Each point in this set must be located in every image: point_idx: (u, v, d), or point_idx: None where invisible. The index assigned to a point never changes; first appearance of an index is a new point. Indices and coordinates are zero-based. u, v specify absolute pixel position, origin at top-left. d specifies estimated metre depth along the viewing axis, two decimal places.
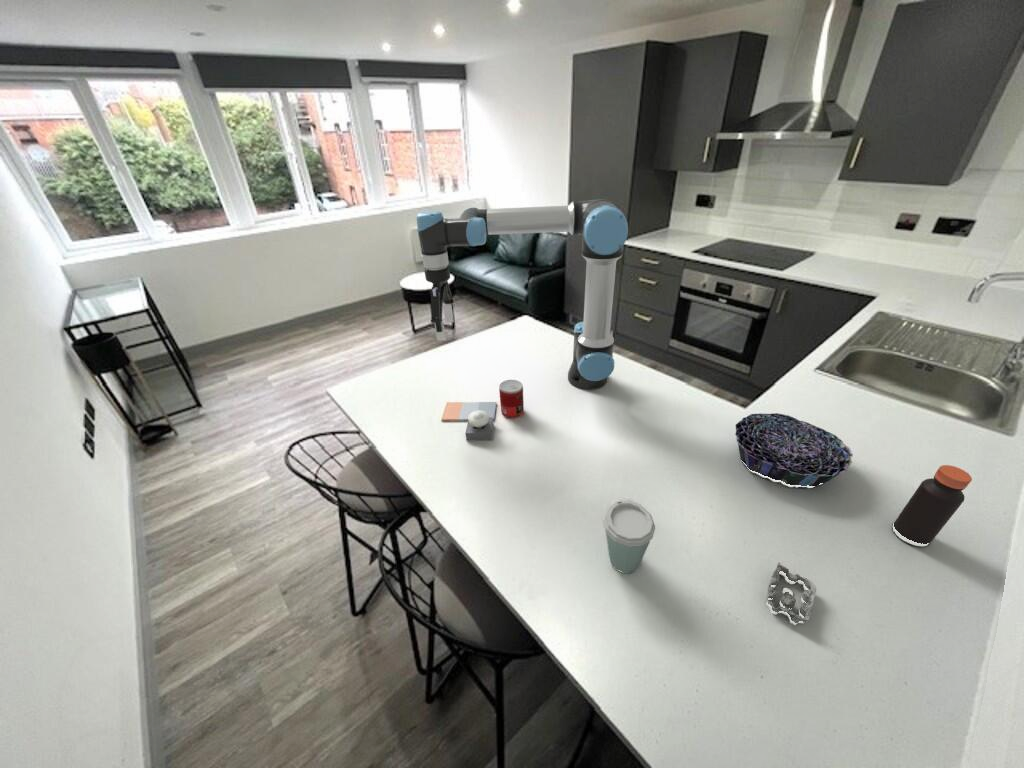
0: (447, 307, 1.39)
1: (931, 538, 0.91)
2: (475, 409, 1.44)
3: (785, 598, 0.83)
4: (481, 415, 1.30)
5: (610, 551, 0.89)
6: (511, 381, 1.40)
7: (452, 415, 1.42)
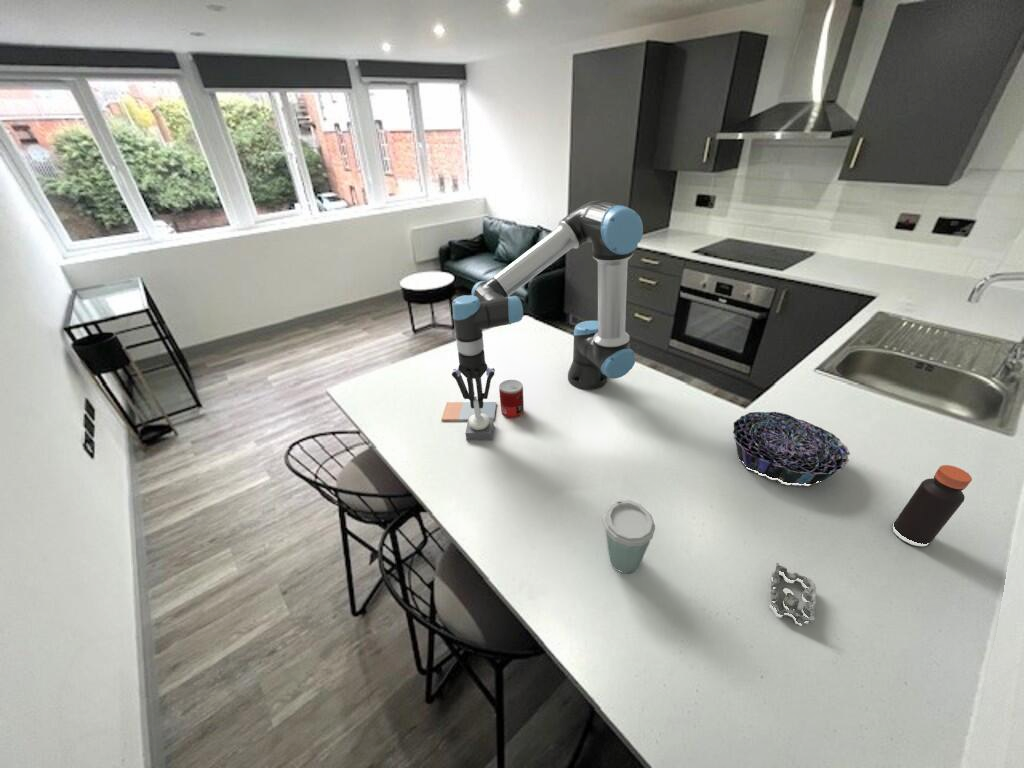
0: None
1: (931, 538, 0.91)
2: None
3: (788, 600, 0.82)
4: (481, 418, 1.31)
5: (610, 551, 0.89)
6: (511, 381, 1.40)
7: (452, 415, 1.42)
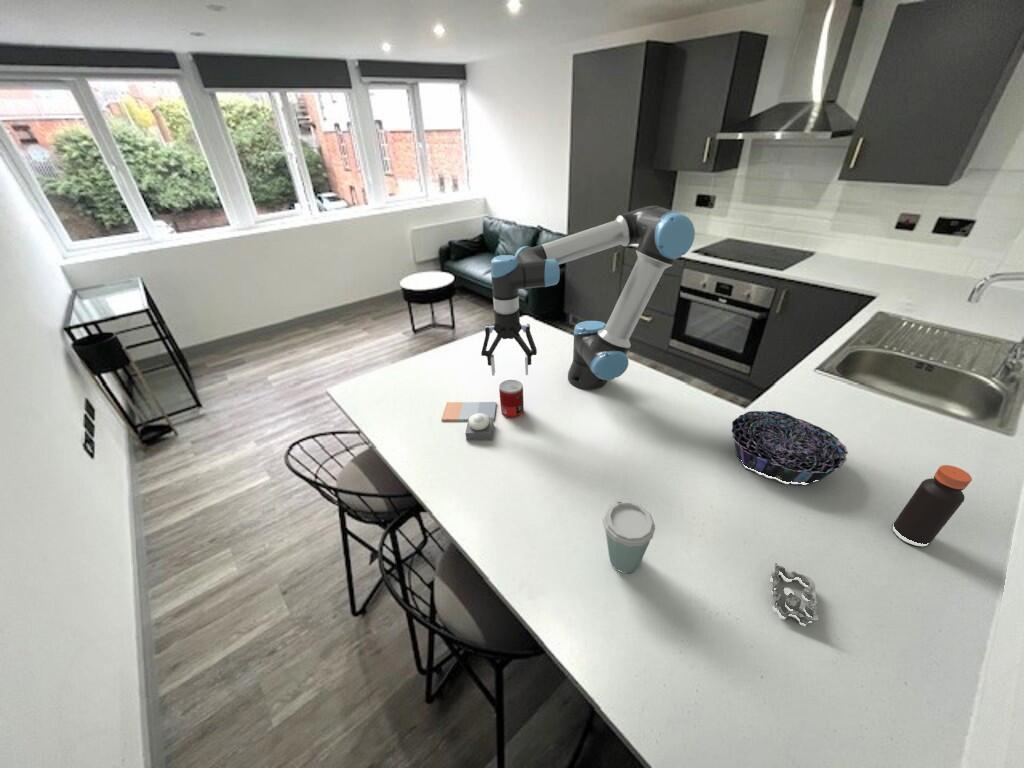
0: None
1: (931, 538, 0.91)
2: (475, 409, 1.44)
3: (790, 601, 0.82)
4: (481, 418, 1.31)
5: (610, 551, 0.89)
6: (511, 381, 1.40)
7: (452, 415, 1.42)
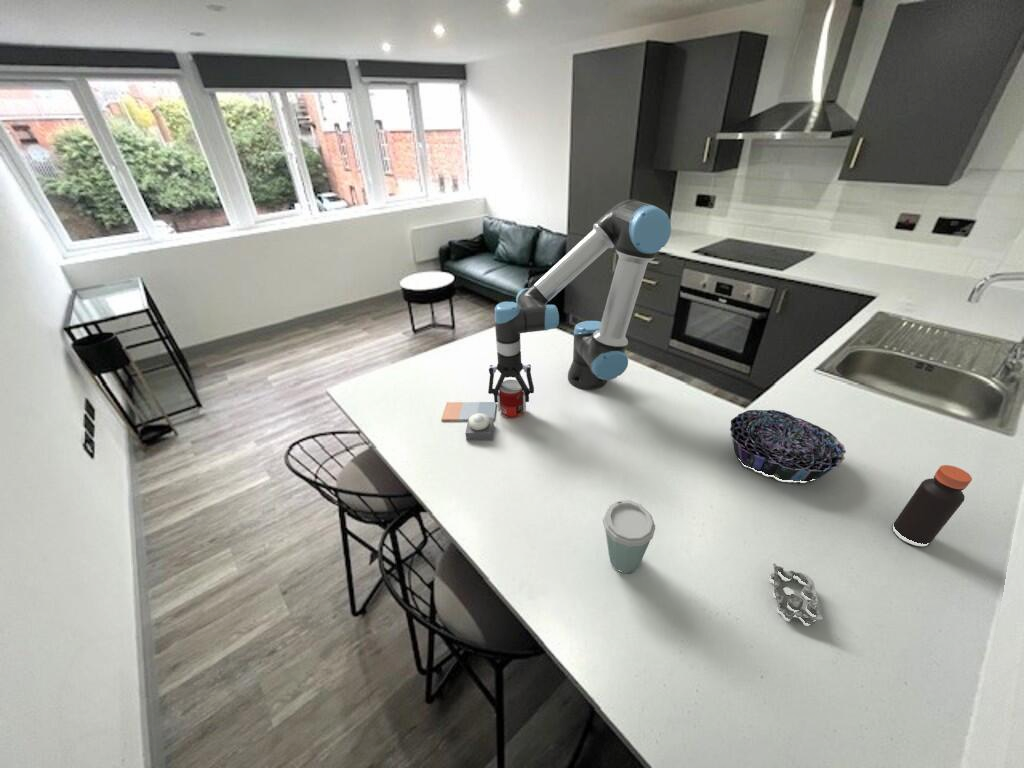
0: None
1: (931, 538, 0.91)
2: (475, 409, 1.44)
3: (793, 601, 0.82)
4: (481, 418, 1.31)
5: (610, 551, 0.89)
6: (511, 381, 1.40)
7: (452, 415, 1.42)
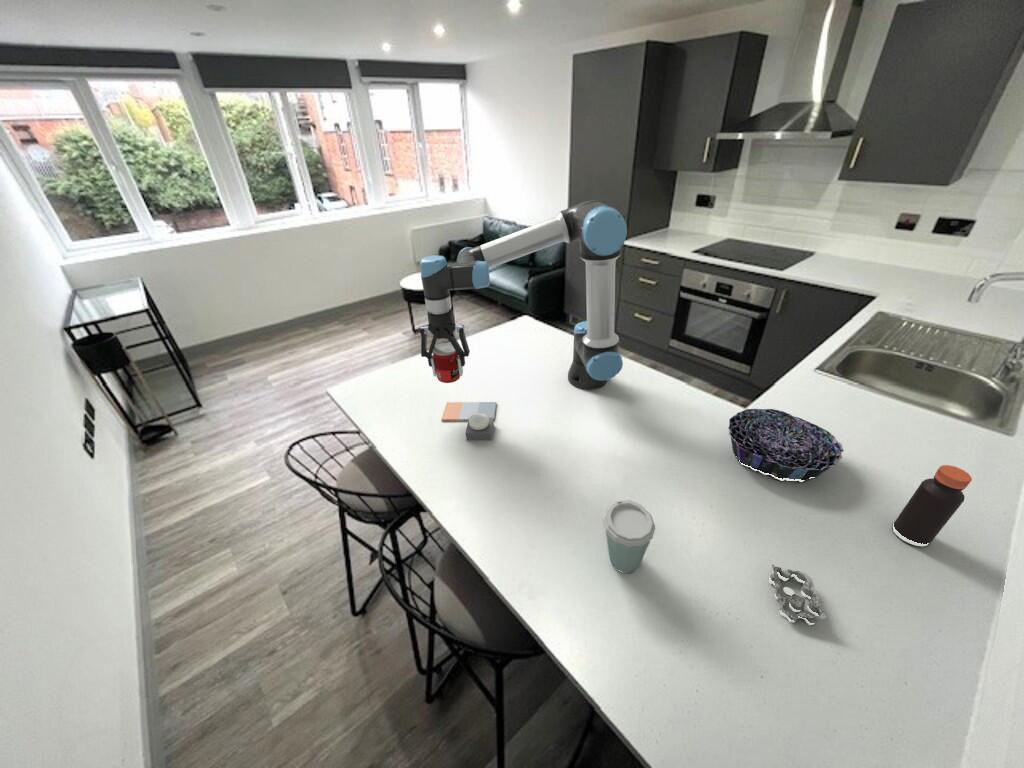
0: None
1: (931, 538, 0.91)
2: (475, 409, 1.44)
3: (795, 602, 0.82)
4: (481, 418, 1.31)
5: (610, 551, 0.89)
6: (446, 344, 1.33)
7: (452, 415, 1.42)
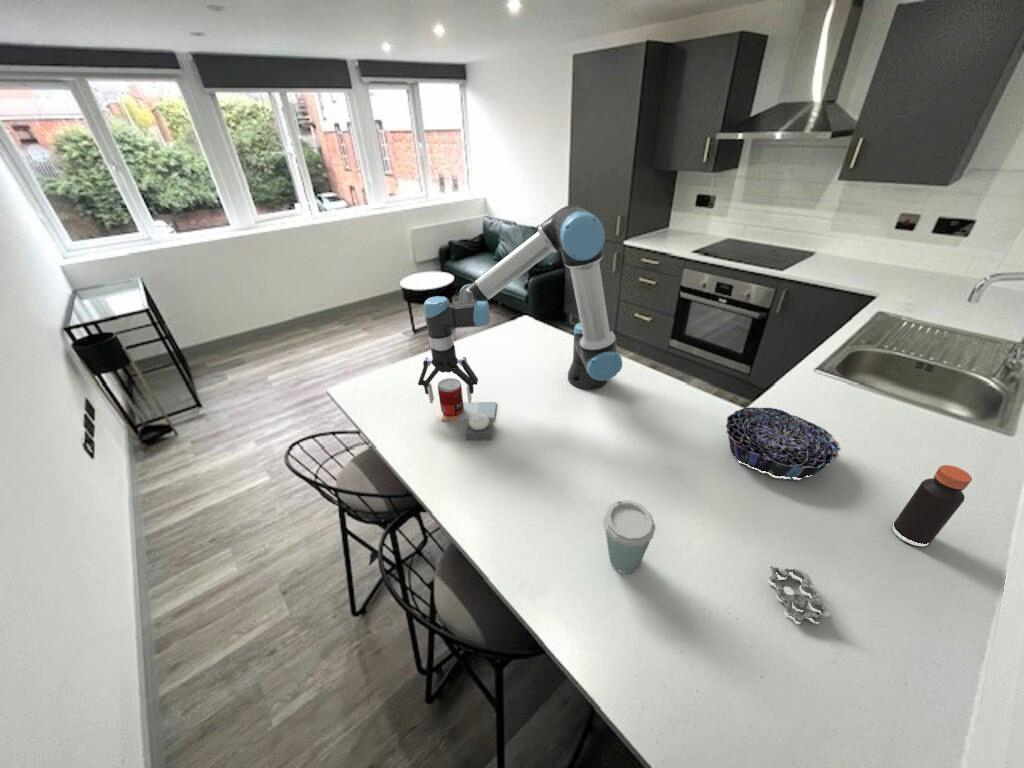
0: None
1: (931, 538, 0.91)
2: (475, 409, 1.44)
3: (799, 602, 0.82)
4: (481, 418, 1.31)
5: (610, 551, 0.89)
6: (450, 379, 1.41)
7: None
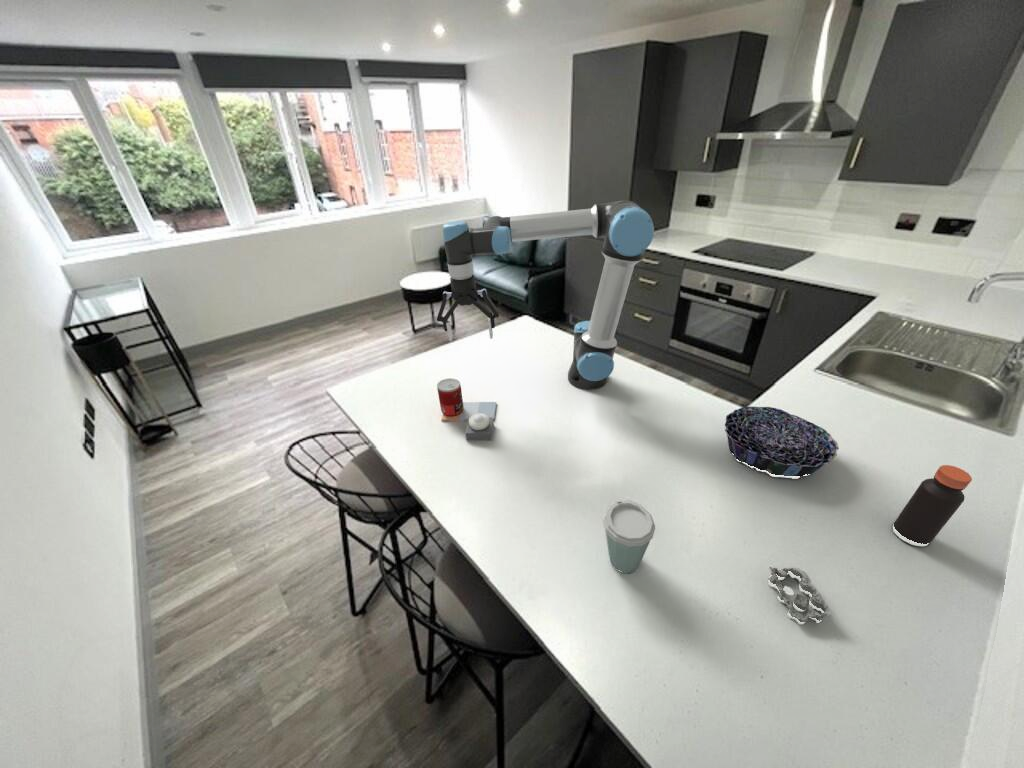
0: None
1: (931, 538, 0.91)
2: (475, 409, 1.44)
3: (801, 602, 0.82)
4: (481, 418, 1.31)
5: (610, 551, 0.89)
6: (450, 380, 1.41)
7: None
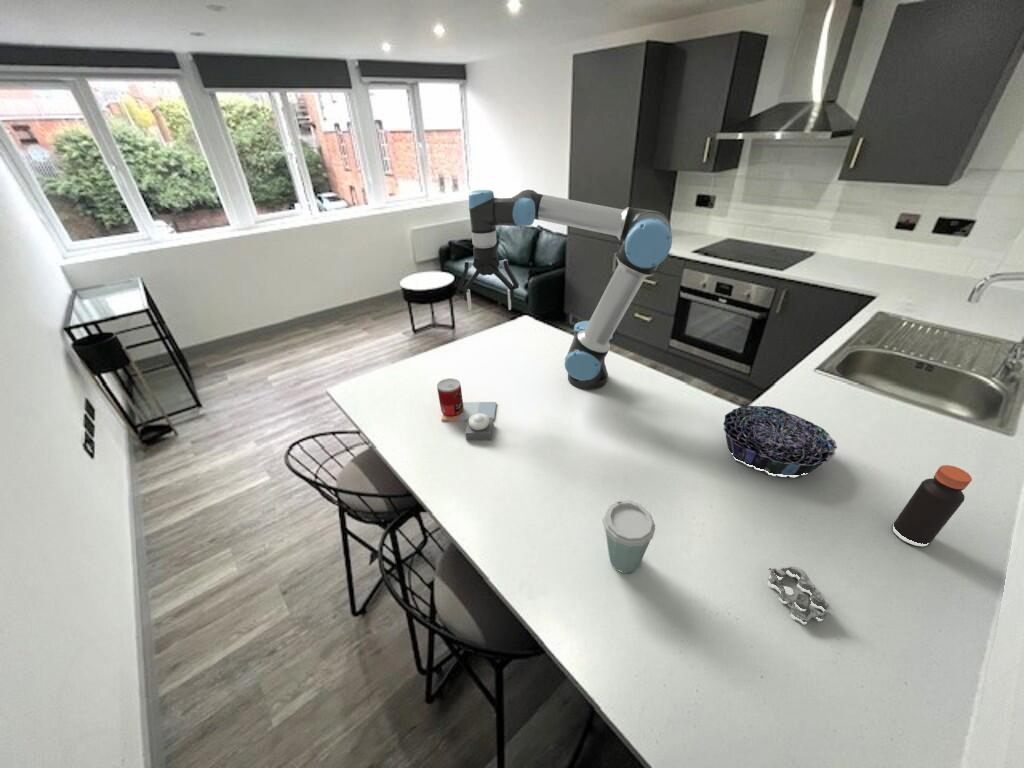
0: None
1: (931, 538, 0.91)
2: (475, 409, 1.44)
3: (802, 602, 0.82)
4: (481, 418, 1.31)
5: (610, 551, 0.89)
6: (450, 380, 1.41)
7: None
